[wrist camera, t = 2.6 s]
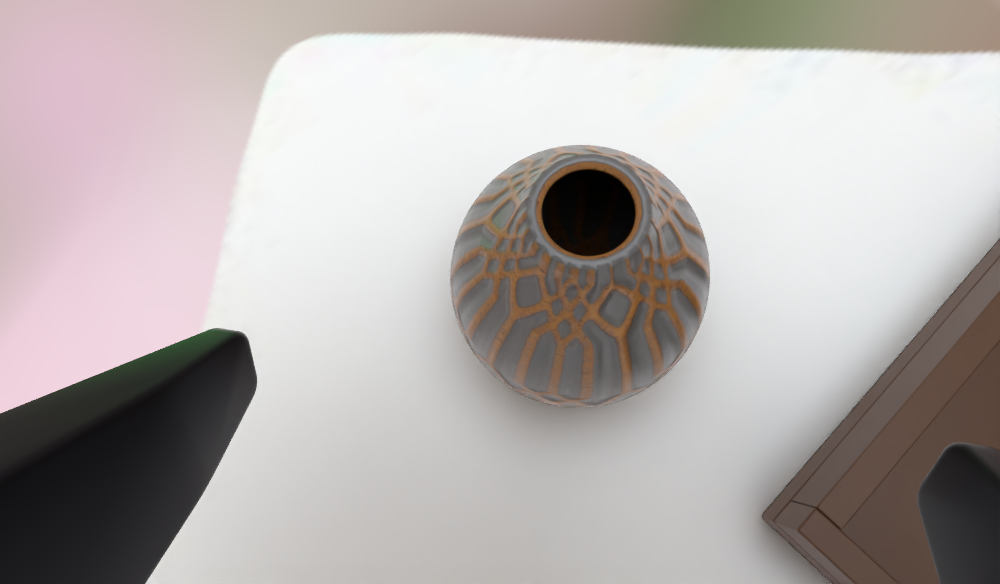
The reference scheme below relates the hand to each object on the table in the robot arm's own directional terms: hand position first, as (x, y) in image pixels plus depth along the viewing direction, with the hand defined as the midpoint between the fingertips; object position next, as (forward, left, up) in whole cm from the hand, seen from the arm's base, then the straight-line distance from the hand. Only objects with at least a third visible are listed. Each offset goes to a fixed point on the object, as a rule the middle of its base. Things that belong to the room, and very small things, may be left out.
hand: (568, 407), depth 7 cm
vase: (+3, +2, -11) cm, 12 cm away
